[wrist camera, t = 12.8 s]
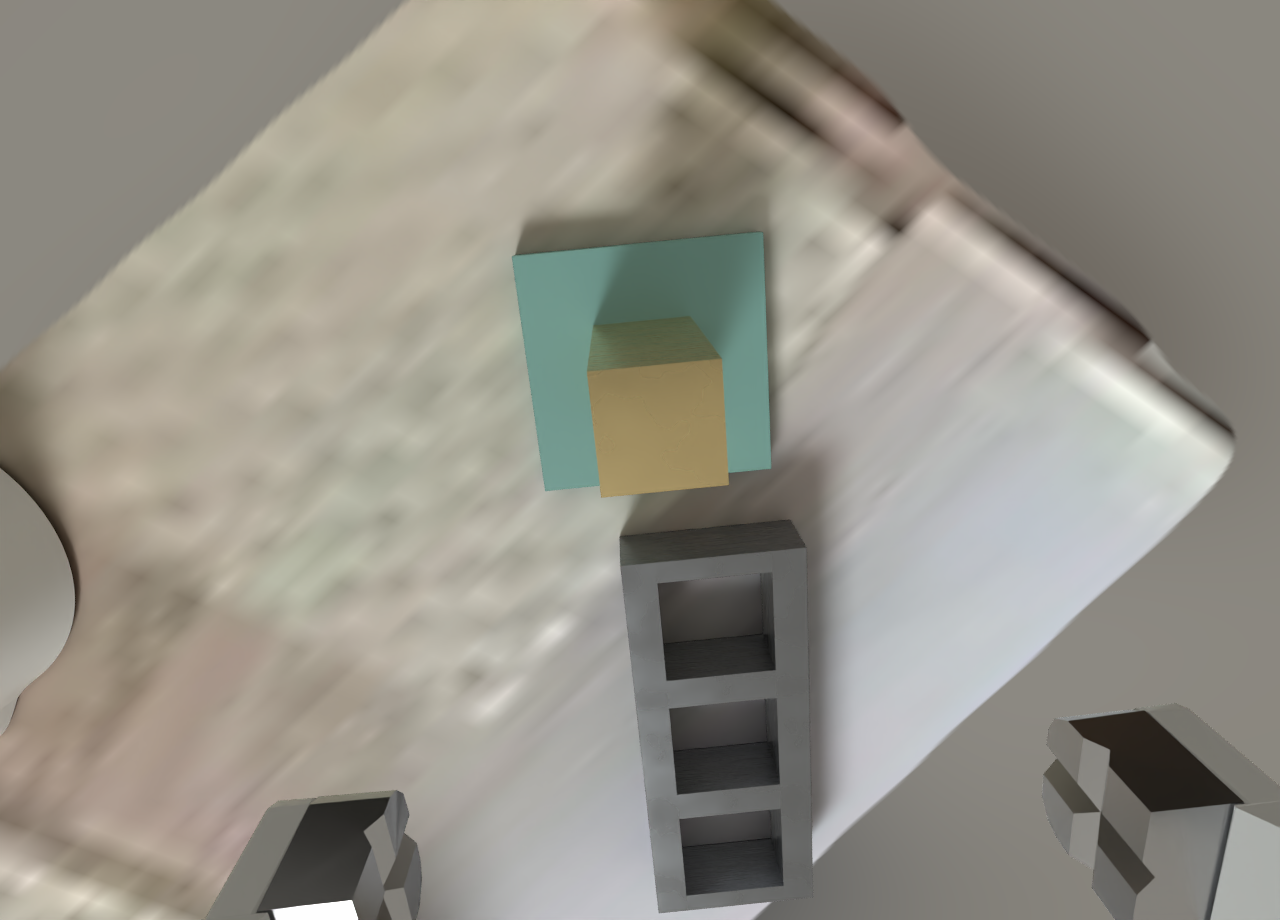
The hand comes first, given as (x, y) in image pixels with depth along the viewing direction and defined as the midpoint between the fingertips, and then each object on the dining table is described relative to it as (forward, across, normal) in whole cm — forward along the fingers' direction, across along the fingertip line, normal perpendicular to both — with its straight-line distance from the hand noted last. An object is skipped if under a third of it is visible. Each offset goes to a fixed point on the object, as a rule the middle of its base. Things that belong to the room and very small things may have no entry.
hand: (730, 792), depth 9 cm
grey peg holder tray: (+24, -2, +17) cm, 30 cm away
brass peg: (+23, 0, 0) cm, 23 cm away
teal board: (+24, 0, -1) cm, 24 cm away
